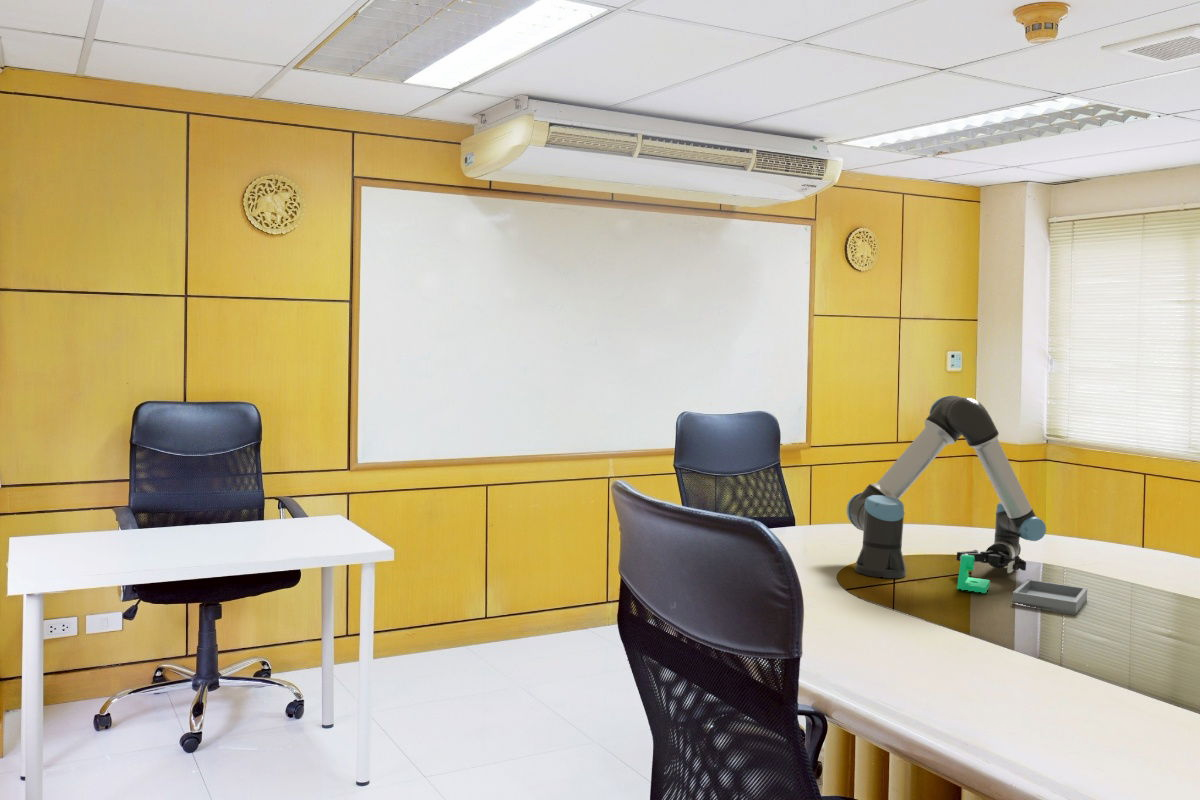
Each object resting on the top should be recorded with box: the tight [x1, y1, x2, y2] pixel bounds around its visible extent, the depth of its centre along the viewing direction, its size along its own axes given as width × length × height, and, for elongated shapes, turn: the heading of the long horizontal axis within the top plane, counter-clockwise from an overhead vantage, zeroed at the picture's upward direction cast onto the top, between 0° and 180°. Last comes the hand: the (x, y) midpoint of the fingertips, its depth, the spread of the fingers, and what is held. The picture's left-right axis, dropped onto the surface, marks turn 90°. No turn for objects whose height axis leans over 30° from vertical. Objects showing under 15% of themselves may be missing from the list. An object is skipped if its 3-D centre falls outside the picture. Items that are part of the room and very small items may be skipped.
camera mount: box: [956, 554, 991, 594], centre depth 291 cm, size 12×8×10 cm, turn 153°
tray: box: [1011, 578, 1088, 616], centre depth 280 cm, size 16×22×4 cm
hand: (985, 564), depth 299 cm, fingers open, 13 cm apart
